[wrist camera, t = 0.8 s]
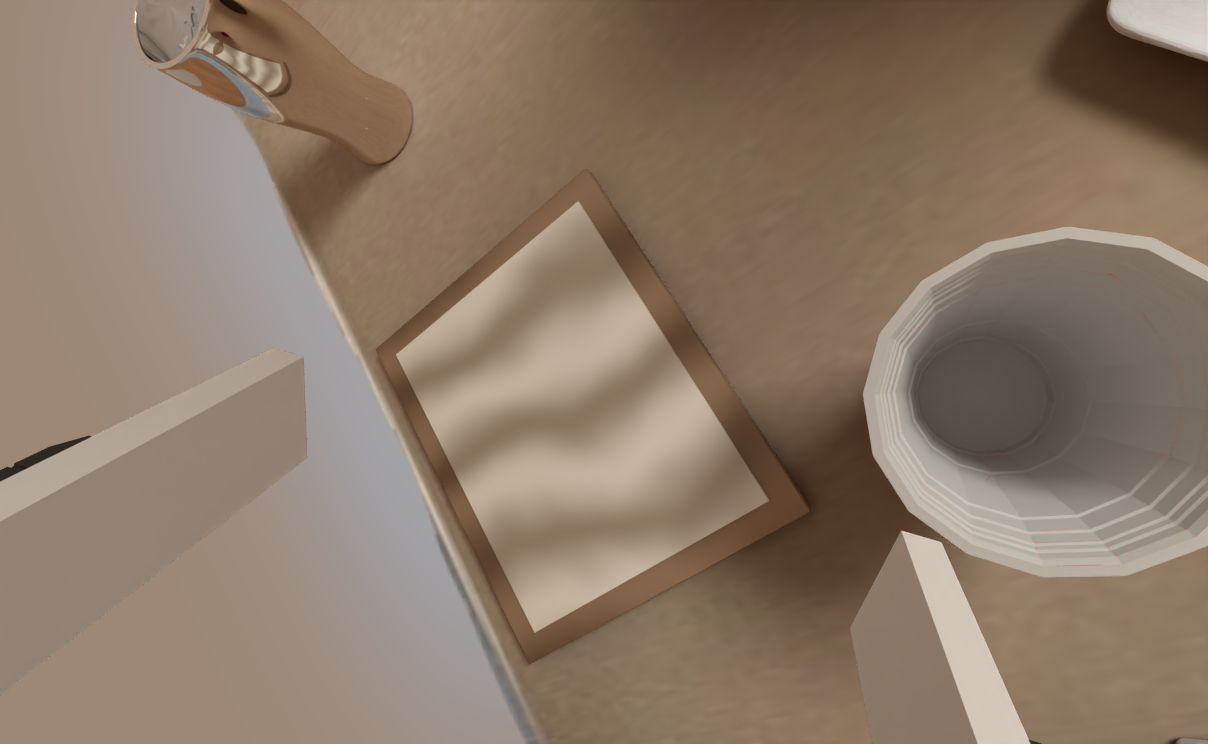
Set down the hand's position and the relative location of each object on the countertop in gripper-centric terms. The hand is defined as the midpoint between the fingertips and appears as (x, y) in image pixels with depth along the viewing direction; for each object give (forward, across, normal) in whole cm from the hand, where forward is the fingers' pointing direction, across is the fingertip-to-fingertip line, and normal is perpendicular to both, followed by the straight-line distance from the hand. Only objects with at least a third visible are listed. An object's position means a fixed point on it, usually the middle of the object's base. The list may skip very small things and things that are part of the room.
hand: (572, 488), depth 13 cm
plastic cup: (+19, +16, -2) cm, 25 cm away
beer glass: (+33, -25, +2) cm, 41 cm away
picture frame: (+22, -5, -12) cm, 25 cm away
